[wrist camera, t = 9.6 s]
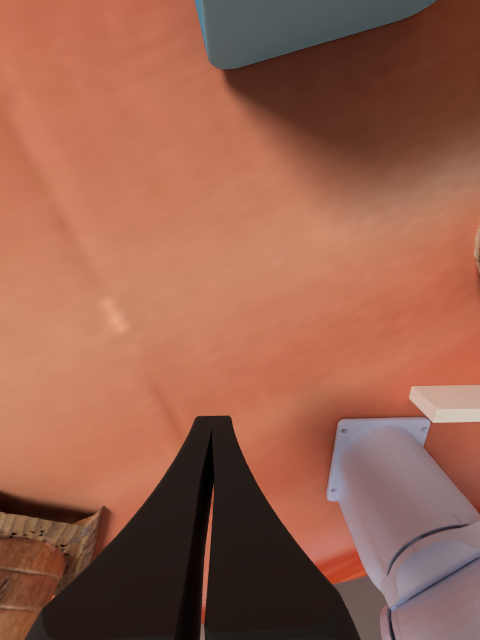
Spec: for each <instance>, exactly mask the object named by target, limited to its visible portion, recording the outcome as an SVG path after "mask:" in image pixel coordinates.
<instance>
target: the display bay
mask: <svg viewBox="0 0 480 640" xmlns="http://www.w3.org/2000/svg"><path fill="white" fill-rule="evenodd" d="M409 399H410V400H411V401H412V402H413V403H414V404H415V405H416V406H417V407H418V408H419V409H420V410H421V411H422V412H423V413H424V414H425V415H426V416H427V417H428V418H429V419H430V420H431V421H432V422H433V423H445V422H480V385H446V386H412V388H411V392H410V395H409Z"/></svg>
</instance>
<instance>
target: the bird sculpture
mask: <svg viewBox="0 0 480 640" xmlns="http://www.w3.org/2000/svg"><path fill="white" fill-rule="evenodd" d="M102 509H103V506H102V507H101V508H100V509H99V510H98V511H97V512H96V513H95V514H94V515H93V516H90V517H88V518H85V519H82V520H80V521H77V522H75V523H72V524H71V523H63V522H56V521H49V520H43V519H40V518H32V517H29V516H24V515H15V514H7V515H6V514H5V513H3V512H0V529H1V530H0V532H2V533H0V640H24V639H25V637H26V636H27V634H28V632H29V630H30V629H31V627H32V625H33V623H34V622H35V620H36V618H37V617H38V615H39V613H40V612H41V610H42V608H43V607H44V606H46V605H47V604H48V603H49V602H50V600H51V598H52V596H53V595H55V596H56V595H57V594H59V593H60V592H61V591H62V590H63V589H64V588H65V587H66V586H67V585H68V584H69V583H70V582H71V581H72V580H74V579H75V578H76V577H77V576H78V575H79V574H80V573H81V572H82V571H83V570H84V569H85V568H86V567H87V566H88V565H89V564H90V563H91V562H92V558H93V554H94V551H95V550H94V549H95V546H96V541H97V540H96V539H97V533H98V531H99V526H100V525H99V524H100V521H101V520H100V519H101V514H102ZM41 527H42V528H41ZM42 530H43V531H44V533H43V536H39V534H42V533H41V532H40V531H42ZM3 531H4V532H3ZM18 531H20V532H18ZM30 531H33V532H35V533H32V532H30ZM11 532H12V533H17V534H16V535H12V533H11ZM22 532H24V533H22ZM24 534H27V536H24ZM33 534H34V535H33ZM10 535H12V536H13V537H10ZM27 538H29V539H27ZM44 540H46V542H44ZM62 542H63V543H62ZM67 543H68V545H67V546H66V547H61V546H60V545H66V544H67ZM57 545H58V547H56V546H57ZM64 554H69V555H68V556H65V555H64ZM65 566H66V567H65ZM67 567H69V568H68V569H67ZM65 569H67V570H65ZM64 570H65V571H66V572H65V571H64ZM60 589H61V590H60Z"/></svg>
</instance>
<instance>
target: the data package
mask: <svg viewBox="0 0 480 640" xmlns="http://www.w3.org/2000/svg"><path fill="white" fill-rule="evenodd" d="M435 1H437V0H195V4H196V9H197V13H198V17H199V22H200V26H201V30H202V35H203V39H204V43H205V48H206V52H207V56H208V60H209V61H210V63H211V64H212V65H213V66H215V67H216V68H219V69H236V68H240V67H243V66H247V65H250V64H254V63H257V62H260V61H264V60H267V59H271V58H274V57H277V56H281V55H284V54H288V53H291V52H294V51H298V50H301V49H304V48H308V47H311V46H315V45H318V44H321V43H325V42H328V41H332V40H335V39H338V38H342V37H345V36H349V35H352V34H355V33H359V32H362V31H366V30H369V29H372V28H376V27H379V26H383V25H386V24H389V23H393V22H396V21H399V20H402V19H405V18H407V17H410V16H412V15H414V14H416V13H418V12H420V11H422V10H423V9H425V8H427V7H428V6H430V5H431V4H433V3H434V2H435Z"/></svg>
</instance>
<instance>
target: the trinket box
mask: <svg viewBox="0 0 480 640" xmlns="http://www.w3.org/2000/svg"><path fill="white" fill-rule="evenodd" d="M474 257H475V260H476V266H477V269H478V272H479V274H480V224H479V227H478V231H477V235H476V239H475V250H474Z"/></svg>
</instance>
